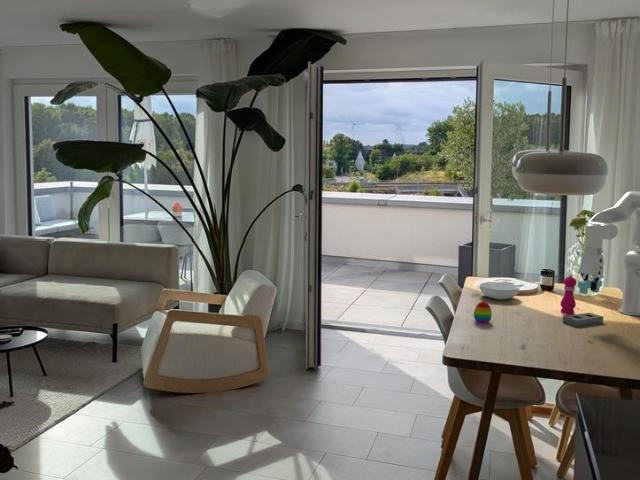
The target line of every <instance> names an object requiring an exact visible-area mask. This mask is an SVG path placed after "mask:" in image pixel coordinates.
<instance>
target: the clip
mask: <svg viewBox="0 0 640 480" xmlns="http://www.w3.org/2000/svg"><path fill="white" fill-rule="evenodd" d="M591 282H593V281H592V279H589V280H585V281H584V280H578V281H577V288H579V294H583V295H587V294H588V293H589V292H588V289H590V292H593V293H600V289H601V288H602V287H603V280H602V279H600V280H599V281H598V282H597V288H596V290H591Z"/></svg>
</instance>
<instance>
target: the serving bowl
mask: <svg viewBox="0 0 640 480" xmlns="http://www.w3.org/2000/svg"><path fill="white" fill-rule="evenodd" d="M479 289H480V292H481V293H482V294H483V295H484V296H485V297H488V298H490V299H494V300H497V301H498V300H501V301H504V300H507V299H508V300H510V299H512V298H514V297H516V296H517V294H518V293H519V290H520V286H519V285H516V284H513V283H507V282H501V281H500V282H499V281H498V282H497V281H488V282H487V281H486V282H481V283H479Z"/></svg>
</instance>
